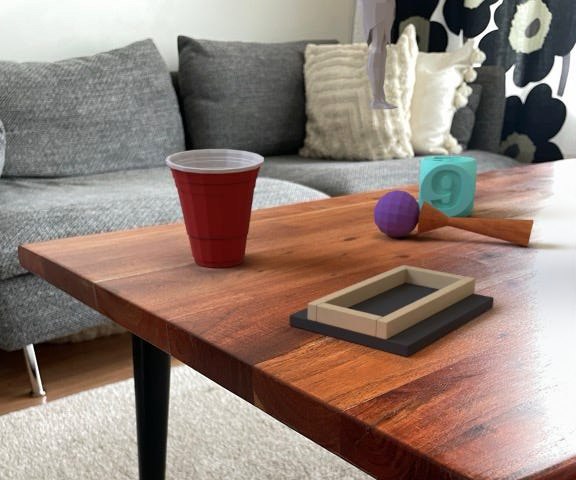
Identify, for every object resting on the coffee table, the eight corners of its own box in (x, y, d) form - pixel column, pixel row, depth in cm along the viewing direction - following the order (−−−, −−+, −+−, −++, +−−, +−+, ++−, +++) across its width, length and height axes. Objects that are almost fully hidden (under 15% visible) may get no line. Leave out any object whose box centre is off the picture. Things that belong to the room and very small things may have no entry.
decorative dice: (469, 209, 112) (474, 156, 109) (472, 219, 105) (478, 163, 102) (417, 207, 114) (421, 155, 110) (417, 217, 107) (421, 161, 103)
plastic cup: (175, 277, 78) (167, 162, 73) (169, 253, 88) (162, 150, 83) (274, 271, 80) (272, 159, 75) (257, 248, 90) (255, 147, 85)
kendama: (533, 219, 86) (370, 197, 91) (523, 265, 89) (367, 240, 95) (537, 202, 90) (382, 181, 96) (527, 245, 94) (378, 223, 99)
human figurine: (378, 112, 62) (376, -140, 55) (336, 114, 63) (329, -131, 56) (411, 105, 72) (413, -108, 65) (374, 106, 73) (372, -102, 66)
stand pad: (492, 307, 68) (496, 282, 67) (407, 357, 57) (409, 327, 56) (384, 284, 75) (386, 261, 74) (289, 325, 64) (289, 298, 63)
